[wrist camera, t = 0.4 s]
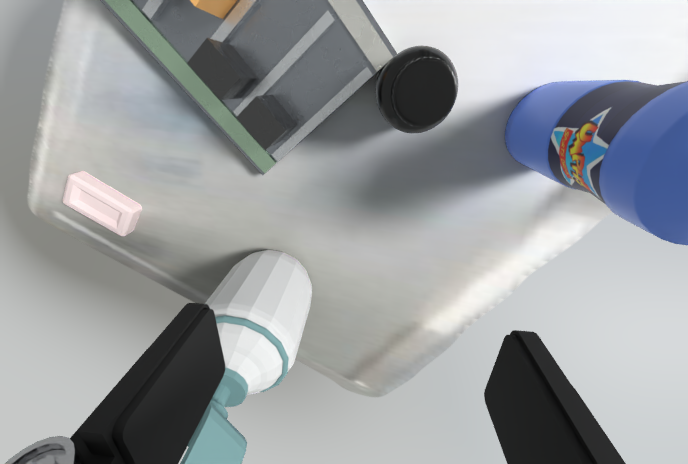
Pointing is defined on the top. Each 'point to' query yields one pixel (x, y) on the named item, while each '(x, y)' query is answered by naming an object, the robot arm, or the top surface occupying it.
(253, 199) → the top surface
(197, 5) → the handle
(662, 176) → the water bottle
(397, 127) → the supplement bottle
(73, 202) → the soap bar
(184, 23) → the breaker panel
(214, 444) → the soap bottle
